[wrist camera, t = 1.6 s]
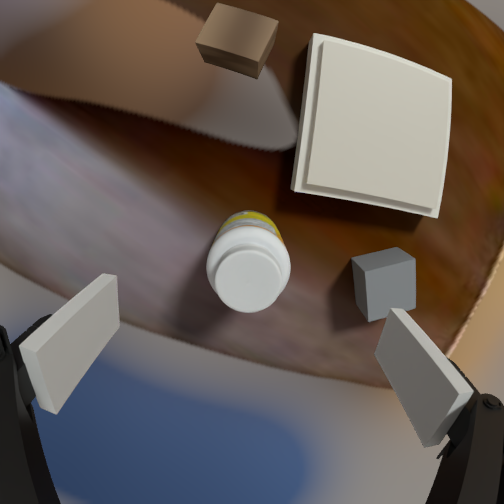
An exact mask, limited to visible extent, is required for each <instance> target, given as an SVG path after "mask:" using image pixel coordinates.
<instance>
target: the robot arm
mask: <svg viewBox="0 0 504 504" xmlns="http://www.w3.org/2000/svg"><path fill="white" fill-rule="evenodd" d="M119 327H120V322H119V309H118V291H117V276H116V275H110V274H104V273H103V274H102V275H100V276H99V277H98V278H97V279H95V280H94V281H93V282H92V283H90V284H89V285H88V286H87V287H86V288H84V289H83V290H82V291H81V292H79V293H78V294H77V295H76V296H75V297H73V298H72V299H71V300H70V301H69V302H68V303H66V304H65V305H64V306H63V307H62V308H60V309H59V310H58V311H57V312H56V313H55V314H54V315H51V314H49V315H47V316H44V317H42V318H40V319H39V320H38V321H36V322H35V323H34V324H33V326H31V327H29V328H28V329H27V331H25V332H24V333H23V334H21V335H20V336H19V337H18V338H17V339H16V340H15V341H14V342H13V343H11V344H10V342H9V339H8V335H7V332H6V329H5V328H4V327H3V326H1V325H0V504H61V503H60V501H59V498H58V495H57V493H56V490H55V487H54V484H53V482H52V479H51V475H50V472H49V469H48V466H47V463H46V459H45V456H44V452H43V449H42V445H41V441H40V437H39V433H38V428H37V424H36V419H35V414H34V410H33V407H32V404H31V402H32V400H33V399H34V398H35V396H36V398H37V400H38V403H39V406H40V408H42V409H45V410H47V411H49V412H52V413H54V414H57V413H58V412H59V410H60V409H61V407H62V406H63V405H64V403H65V402H66V400H67V399H68V397H69V396H70V394H71V393H72V391H73V390H74V388H75V387H76V385H77V384H78V383H79V381H80V380H81V378H82V377H83V376H84V374H85V373H86V371H87V370H88V369H89V367H90V366H91V364H92V363H93V362H94V360H95V359H96V358H97V356H98V355H99V353H100V352H101V351H102V349H103V348H104V347H105V345H106V344H107V343H108V341H109V340H110V338H111V337H112V336H113V334H114V333H115V332H116V331H117V329H118V328H119ZM374 355H375V357H376V359H377V360H378V362H379V364H380V366H381V367H382V369H383V371H384V373H385V375H386V376H387V378H388V380H389V382H390V384H391V385H392V387H393V389H394V391H395V392H396V394H397V397H398V398H399V400H400V402H401V404H402V406H403V408H404V410H405V412H406V413H407V415H408V417H409V419H410V421H411V423H412V425H413V427H414V429H415V431H416V433H417V435H418V437H419V439H420V440H421V443H422V445H423V446H424V448H425V447H430V446H434V445H439V444H440V442H441V441H442V440H443V438H444V437H445V435H446V434H448V436H449V438H450V440H449V442H448V443H447V444H446V446H445V447H444V448H443V450H442V451H441V452H440V454H439V455H438V456H437V459H439V458H440V456H442V455H443V457H442V460H441V463H440V466H439V469H438V472H437V475H436V478H435V480H434V483H433V486H432V488H431V491H430V493H429V496H428V498H427V501H426V503H425V504H504V406H503V404H502V403H501V401H500V400H499V399H498V398H497V397H495V396H493V395H491V394H480V393H479V392H478V390H477V389H476V388H475V387H474V386H473V384H472V383H471V382H470V381H469V379H468V378H467V377H465V375H464V373H463V372H462V371H460V369H459V368H458V366H457V365H456V364H455V363H454V362H453V361H451V360H450V359H448V358H447V357H445V356H444V354H443V353H442V352H441V351H440V350H439V349H438V347H437V346H436V345H435V344H434V343H433V342H432V341H431V339H430V338H429V337H428V336H427V335H426V334H425V333H424V331H423V330H422V329H421V328H420V327H419V326H418V325H417V324H416V323H415V321H414V320H413V319H412V318H411V317H410V316H409V315H408V314H407V313H406V312H405V311H404V309H399V308H390V310H389V313H388V316H387V319H386V322H385V325H384V328H383V331H382V334H381V337H380V340H379V343H378V346H377V348H376V351H375V354H374Z"/></svg>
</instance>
